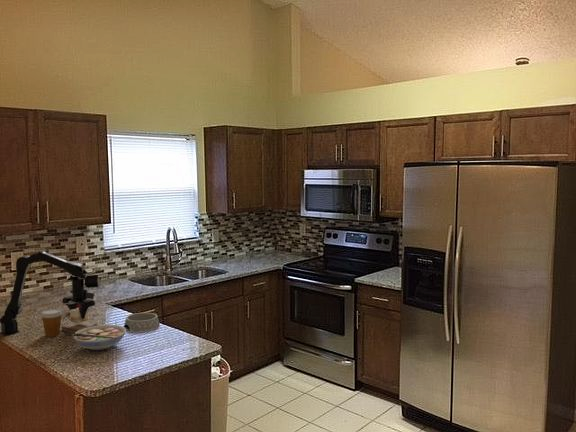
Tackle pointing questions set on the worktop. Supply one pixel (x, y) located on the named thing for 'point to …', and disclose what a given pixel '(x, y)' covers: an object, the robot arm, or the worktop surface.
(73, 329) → the walnut board
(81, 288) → the robot arm
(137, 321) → the dog bowl
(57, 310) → the disposable coffee cup
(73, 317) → the maple cube
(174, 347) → the worktop surface
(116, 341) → the ramen bowl
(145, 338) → the worktop surface
